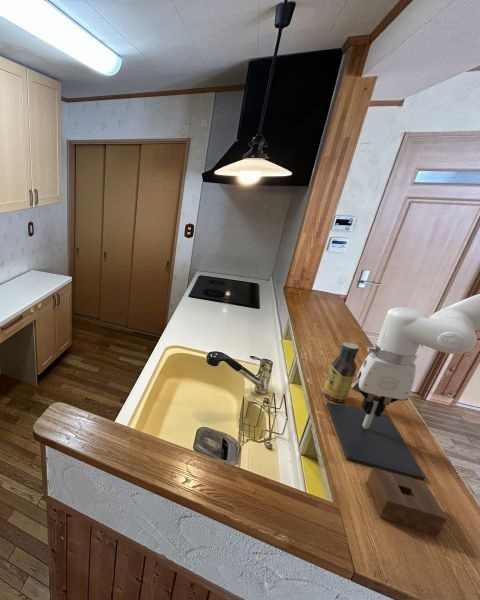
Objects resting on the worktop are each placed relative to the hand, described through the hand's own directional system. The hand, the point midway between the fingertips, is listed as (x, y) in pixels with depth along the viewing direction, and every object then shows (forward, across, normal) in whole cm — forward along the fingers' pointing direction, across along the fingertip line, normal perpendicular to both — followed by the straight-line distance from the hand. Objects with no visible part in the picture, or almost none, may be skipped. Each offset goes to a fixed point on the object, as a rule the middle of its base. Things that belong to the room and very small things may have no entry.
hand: (371, 412), depth 89 cm
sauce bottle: (+7, -4, +15) cm, 17 cm away
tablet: (+7, 0, -2) cm, 7 cm away
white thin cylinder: (+6, 0, 0) cm, 6 cm away
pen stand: (+7, 0, -25) cm, 26 cm away
